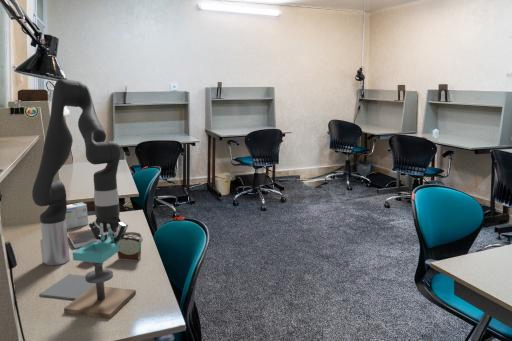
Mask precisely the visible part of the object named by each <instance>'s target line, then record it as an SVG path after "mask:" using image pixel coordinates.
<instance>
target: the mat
mask: <svg viewBox="0 0 512 341" xmlns="http://www.w3.org/2000/svg"><path fill="white" fill-rule="evenodd" d="M85 276H86V275H81V274H70V273H69V274H67V275H65V276H64V277H63V278H62V279H60V280H58V281H57V282H55V283H54V284H52V285H51V286H49V287H48V288H45V290H43V291H41V292H40V293H39V294H38V296H40V297H45V298H46V297H47V298H56V299H65V300H72V301H74V300H75V299H77V298H78V297H79V296H81V295H82V294H83V293H84V292H86V291H87V290H88V289H90V288H91V287H92V286H96V283H89V282H87V281H86V280H85Z"/></svg>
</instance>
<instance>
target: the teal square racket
mask: <svg viewBox="0 0 512 341" xmlns="http://www.w3.org/2000/svg"><path fill="white" fill-rule="evenodd" d="M94 251H97V252H94ZM117 252H119V244H116V243H111V238H110V237H109V238H108V239H106V240H105V241H103V242H94V241H91V242H90V243H88V244H86V245H85V246H83V247H79V248H77V249H76V250H74V251H73V252H72V260H73V261H79V262H85V263H88V262H95V263H103V264H104V262H106V261H107V260H109V259H110V258H111V257H113V256H114V255H116V254H118V253H117Z"/></svg>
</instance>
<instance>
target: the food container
mask: <svg viewBox="0 0 512 341" xmlns="http://www.w3.org/2000/svg"><path fill="white" fill-rule="evenodd" d="M143 241H144V238H143V236H142V234H141V233H140V232H135V231H129V232H128V231H126V232H125V234H124V237H123V239H121V240H120V241H118V244H119V252H117V253H116V254H117V258H118V260H126V261H134V262H135V261H136V262H140V261H141V258H142V257H141V256H142V255H141V254H142V243H143Z"/></svg>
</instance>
